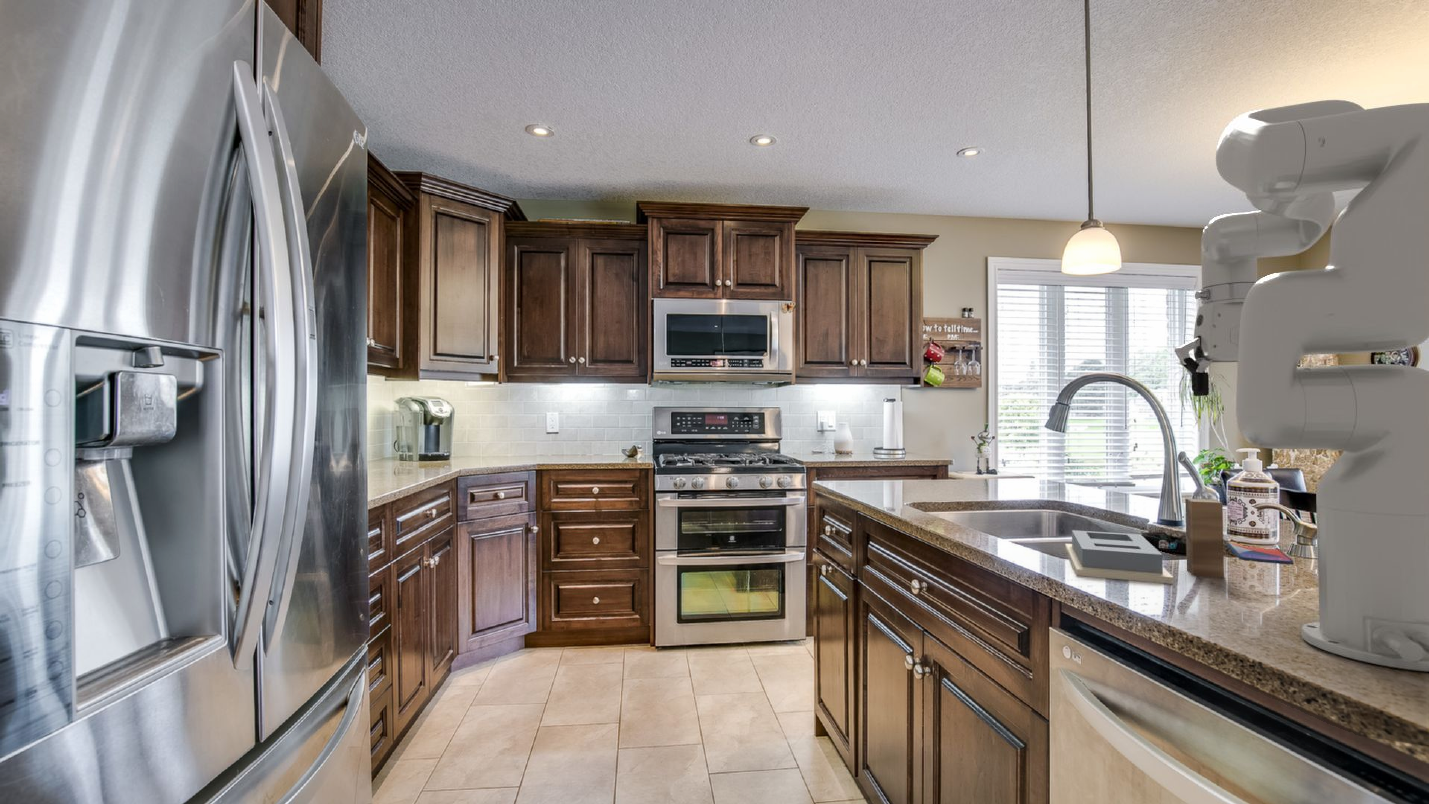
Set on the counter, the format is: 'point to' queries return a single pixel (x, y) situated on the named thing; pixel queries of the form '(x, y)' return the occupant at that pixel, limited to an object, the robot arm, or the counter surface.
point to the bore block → (1116, 557)
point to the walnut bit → (1204, 537)
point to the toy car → (1166, 542)
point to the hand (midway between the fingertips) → (1231, 395)
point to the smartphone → (1258, 554)
